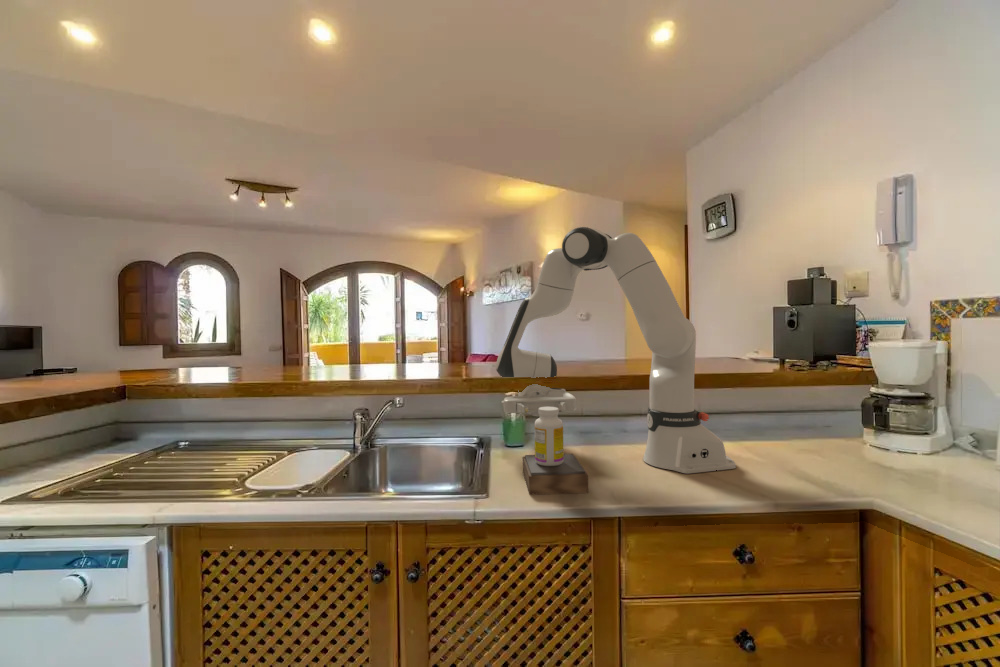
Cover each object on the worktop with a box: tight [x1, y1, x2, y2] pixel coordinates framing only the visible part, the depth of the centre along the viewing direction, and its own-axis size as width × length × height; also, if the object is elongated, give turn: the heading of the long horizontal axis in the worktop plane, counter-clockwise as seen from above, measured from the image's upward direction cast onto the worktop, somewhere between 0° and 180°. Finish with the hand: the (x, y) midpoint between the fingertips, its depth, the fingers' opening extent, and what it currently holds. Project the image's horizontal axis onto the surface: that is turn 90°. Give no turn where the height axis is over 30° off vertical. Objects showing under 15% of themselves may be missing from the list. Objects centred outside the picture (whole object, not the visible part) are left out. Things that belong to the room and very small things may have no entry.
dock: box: [522, 453, 589, 495], centre depth 106 cm, size 13×14×5 cm
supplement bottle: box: [534, 407, 564, 466], centre depth 106 cm, size 7×7×13 cm
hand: (543, 409), depth 119 cm, fingers open, 8 cm apart
